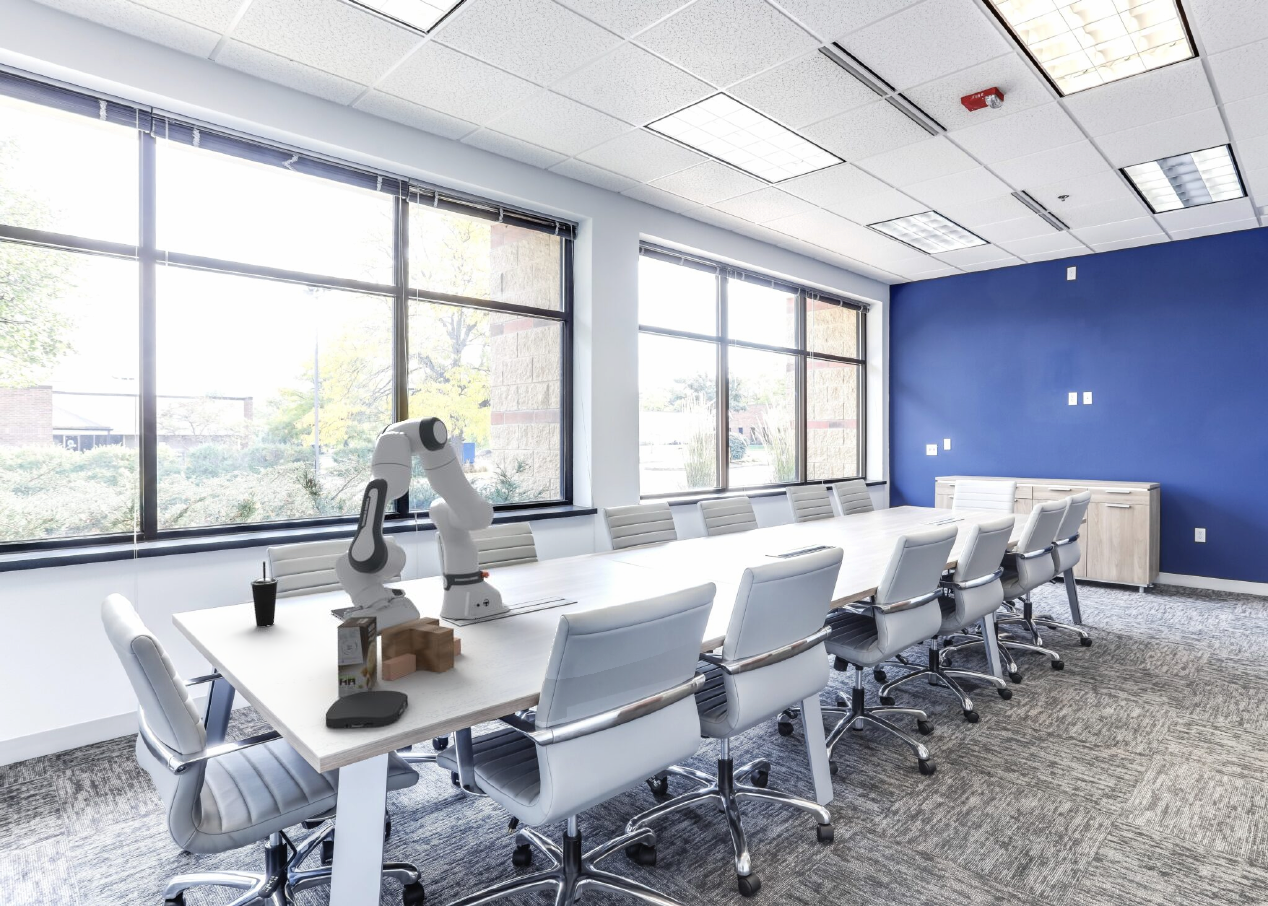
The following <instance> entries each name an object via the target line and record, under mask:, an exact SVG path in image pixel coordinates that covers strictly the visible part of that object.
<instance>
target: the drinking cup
mask: <svg viewBox="0 0 1268 906" xmlns="http://www.w3.org/2000/svg"><path fill="white" fill-rule="evenodd" d="M266 572H267V571H266V561H262V577H261V578H258V579H256V580H253V581H251V582H250V585H251V590H252V597H253V598H252V599H253V606H254V616H255V622H256V623H255V624H256V627H258V626H265V627H268V626H267V625H271V626H273V625H274V624H275V616H276V615H275V614H276V602H277V591H278V590H277V589H278V583H279V580H278V579H276V578H272V577H267V576H266ZM273 623H274V624H273ZM272 624H273V625H272Z"/></svg>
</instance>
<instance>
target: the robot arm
mask: <svg viewBox="0 0 1268 906" xmlns="http://www.w3.org/2000/svg"><path fill="white" fill-rule="evenodd" d="M417 456H418V459H419V462H420V464H421V467H422V469H423V472H424V474H425V476H426V479H427V481H428V483H429V486H430V487H431V489H432V491H433V492H434V493H436V494H437V495H438V496H439V497H438V498H435V499H434V500H433V501H432V502H431V504H430V505H429V508H428V515H429V516H428V517H429V520H430V522H432V524H434V526H435V528H436V529H437V531H438V533H439V536H440V540H441V542H442V543H441V544H442V547H443V559H444V560H443V561H444V571H443V573H442V576H443V577H442V586H443V599H442V605H441V610H440V614H439V616H440V617H442V618H447V619H454V620H455V619H456V620H457V619H458V620H459V619H460V620H462V619H463V620H464V619H465V620H476V619H479V618H480V619H481V618H484V617H489V616H493V615H496V614H502V613H506V612H509V611H510V606H509V605H507V604H506V603H503V598H502V595H501V593H500V591H499V590H498V589H497V588H495V587H494V586H493V585H491V584H490V583H488V582H487V581H486V580H485V579H488V578H489V577H490V572H488V571H482V570H481V569H480V568H479V567H480V565H479V563H480V562H479V559H480V557H479V547H478V544H476V542H475V540H473V538H472V537H471V533H470V532H477V531H482V530H485V529H488V527H490V526H491V525H492V522H493V520H494V517H495V515H494V514H495V512H494V508H493V506H492V504H491V503H490V502H489V501H487V500H486V499H485V498H483V497H482V496H481V495H480V494H479V493H478V491H476V488H474V487H473V485H472V484H471V483H470V481H469V480H468V479H467V477H466V475H465V474H464V471H463V469H462V466H461V464H460V462H459V459H458V457H457V454H456V452H455V450H454V448H453V446H452V444H451V442H450V440H449V439H448V429H447V426H446V425H445V423H444V422H443V420H441V419H440V418H439V417H437V416H424V417H419V418H417V417H415V418H410V419H406V420H403V421H400V422H399V421H398V422H396V423H392V424H391V423H390V424H388V425H385V426H383V427H382V428H381V429H380V430H379V431H378V433H377V436H376V442H375V446H374V449H373V454H372V458H371V466H370V476H369V481H368V483H367V485H366V487H365V490H364V493H363V497H362V502H361V507H360V512H359V516H358V517H359V518H358V523H357V528H356V532H355V535H354V537H353V539H352V541H351V543H350V545H349V547H348V548H349V549H348V550H347V551H344V552H343V553H342V554H341V555H340V556H339V557H338V558H337V559H336V562H335V563H334V572H335V575H336V578H337V579H338V581H339V584H340V585H341V587H342V589H343V591H344V592H345V593H346V594H348V595H349V596H350V599H351V603H352V605H353V607H354V606H355V608H353V609H348V610H346V612H345V613H344V619H345V621H346V620H348V619H349V618H351V617H377V638H378V637H381V630H385V629H388V628H391V627H394V626H398V625H401V624H404V623H408V622H411V621H414V620H417V619H421V613H420V610H419V609H418V608H417V606H416V605H415V603H414V602H413V601H412V600H411V599H410V598H409V597H407V596H406V594H407V593H406V591H405V590H404V589H402V588H392V587H387V586H384V585H383V583H385V582H387V581H389V580H390V579H392V578H395V576H398V575H399V574H400V573H401V572H402V570H403V569H404V568H405V567H406V561H407V554H406V552H405V550H404V549H403V547H401V546H400V545H398V544H396V543H394V542H391V541H390V540H386V539H385V537H384V534H383V527H384V522H385V516H386V510H387V506H388V504H389V502H390V501H393V500H394V501H395V500H397V499H399V498H401V497H403V496H404V495H405V494H406V493H407V492H408V491H409V488H410V485H411V481H412V471H413V469H412V467H413V459H412V457H417ZM475 618H476V619H475Z"/></svg>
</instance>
